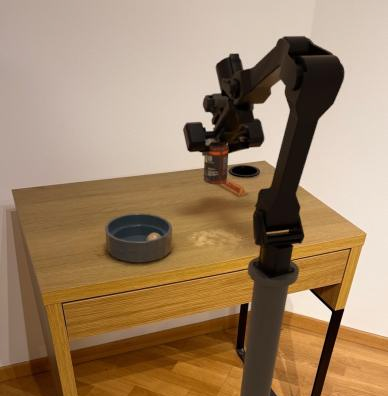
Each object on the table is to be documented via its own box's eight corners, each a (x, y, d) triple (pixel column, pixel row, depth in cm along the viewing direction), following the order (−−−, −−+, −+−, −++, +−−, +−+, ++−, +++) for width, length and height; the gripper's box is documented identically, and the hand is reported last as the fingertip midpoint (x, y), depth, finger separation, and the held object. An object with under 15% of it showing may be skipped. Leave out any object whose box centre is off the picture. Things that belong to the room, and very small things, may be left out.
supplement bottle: (226, 177, 128) (229, 131, 121) (226, 186, 123) (229, 138, 116) (203, 176, 128) (205, 130, 121) (202, 184, 124) (204, 137, 117)
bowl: (183, 255, 106) (183, 234, 103) (121, 270, 101) (120, 248, 98) (155, 229, 116) (154, 209, 113) (97, 241, 111) (95, 220, 107)
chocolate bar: (221, 179, 142) (221, 172, 141) (246, 194, 134) (247, 186, 133) (213, 181, 141) (214, 173, 140) (238, 195, 133) (239, 187, 132)
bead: (158, 254, 108) (168, 244, 106) (145, 251, 106) (155, 241, 103) (153, 241, 109) (163, 231, 107) (141, 238, 107) (150, 227, 105)
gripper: (265, 81, 111) (242, 120, 126) (186, 84, 106) (172, 125, 121) (275, 127, 110) (251, 161, 125) (196, 132, 105) (181, 167, 120)
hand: (214, 153), depth 123 cm, fingers closed on supplement bottle, 6 cm apart
